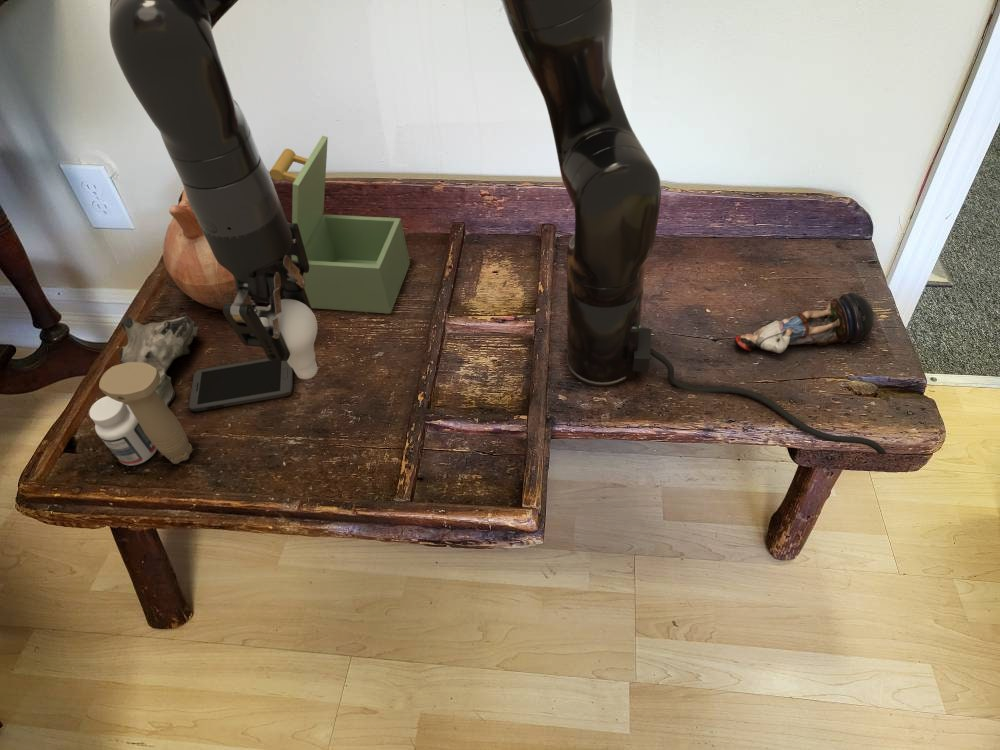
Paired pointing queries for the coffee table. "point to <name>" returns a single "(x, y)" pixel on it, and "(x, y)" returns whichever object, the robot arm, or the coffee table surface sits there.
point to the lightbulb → (298, 336)
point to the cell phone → (240, 384)
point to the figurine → (815, 326)
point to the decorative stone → (158, 346)
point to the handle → (147, 407)
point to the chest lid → (305, 186)
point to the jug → (195, 260)
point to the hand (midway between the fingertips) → (291, 335)
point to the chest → (356, 263)
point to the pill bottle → (121, 431)
